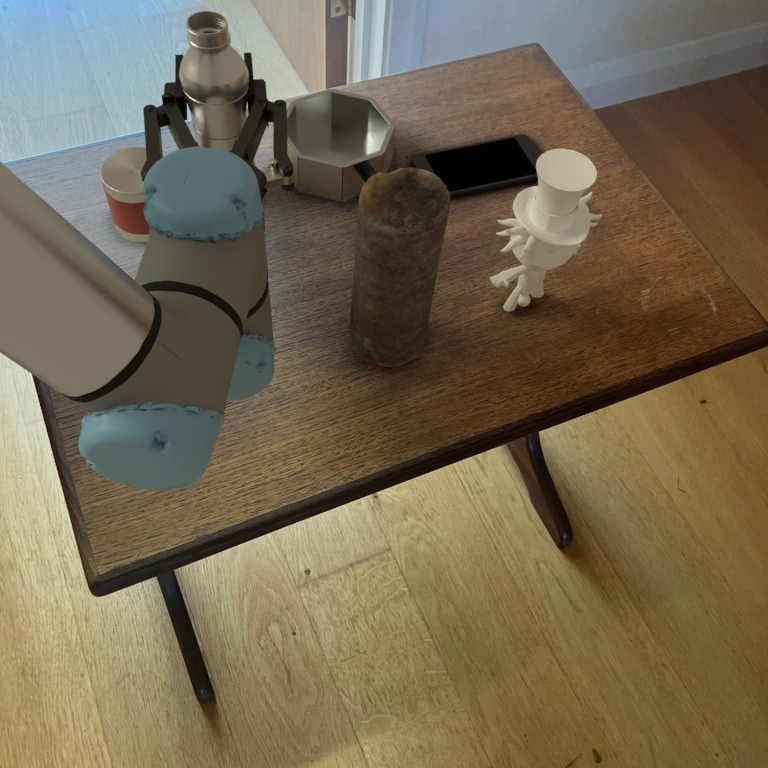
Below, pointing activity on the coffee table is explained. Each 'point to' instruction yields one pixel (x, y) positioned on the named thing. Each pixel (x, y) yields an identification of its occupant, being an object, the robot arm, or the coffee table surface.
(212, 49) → the metal bottle
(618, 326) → the coffee table surface
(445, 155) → the smartphone
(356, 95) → the saucepan
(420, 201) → the candle
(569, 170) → the figurine
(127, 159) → the tin can
